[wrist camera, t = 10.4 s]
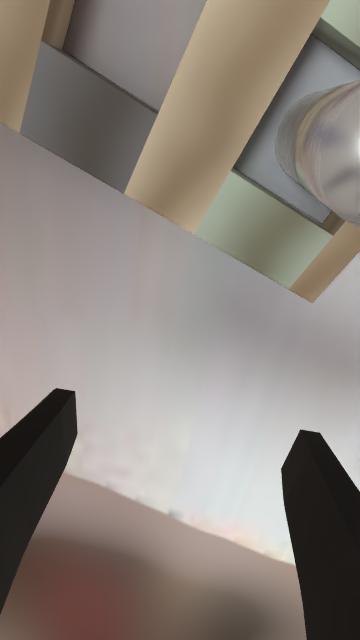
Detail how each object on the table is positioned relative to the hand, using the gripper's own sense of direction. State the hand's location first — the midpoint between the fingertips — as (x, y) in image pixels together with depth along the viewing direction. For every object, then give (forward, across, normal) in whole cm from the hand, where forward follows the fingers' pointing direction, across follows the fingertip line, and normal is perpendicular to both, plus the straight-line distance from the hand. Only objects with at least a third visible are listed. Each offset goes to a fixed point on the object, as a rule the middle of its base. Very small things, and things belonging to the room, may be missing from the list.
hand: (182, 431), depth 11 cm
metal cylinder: (+10, -4, -8) cm, 14 cm away
